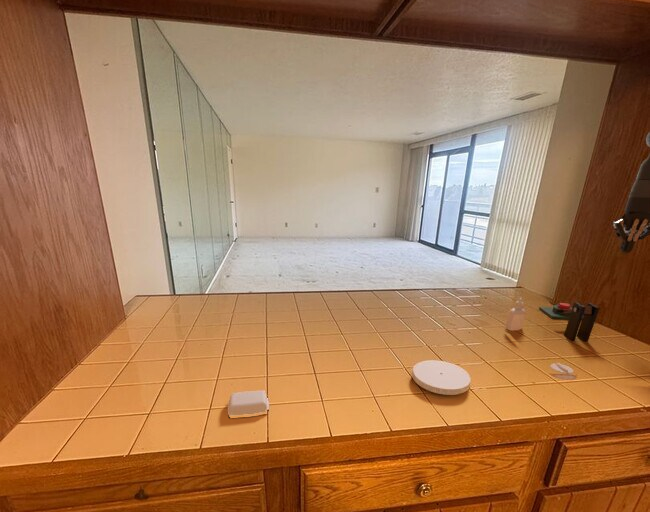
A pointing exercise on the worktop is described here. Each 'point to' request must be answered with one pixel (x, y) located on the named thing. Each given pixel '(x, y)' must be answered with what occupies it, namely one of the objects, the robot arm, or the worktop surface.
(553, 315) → the button box
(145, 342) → the worktop surface
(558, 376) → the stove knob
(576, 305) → the bracket
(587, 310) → the lever
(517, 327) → the eye dropper bottle
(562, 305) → the button
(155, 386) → the worktop surface
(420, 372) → the plastic lid
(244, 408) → the soap
